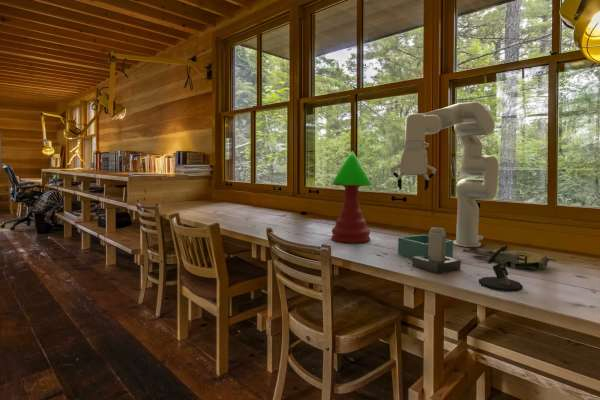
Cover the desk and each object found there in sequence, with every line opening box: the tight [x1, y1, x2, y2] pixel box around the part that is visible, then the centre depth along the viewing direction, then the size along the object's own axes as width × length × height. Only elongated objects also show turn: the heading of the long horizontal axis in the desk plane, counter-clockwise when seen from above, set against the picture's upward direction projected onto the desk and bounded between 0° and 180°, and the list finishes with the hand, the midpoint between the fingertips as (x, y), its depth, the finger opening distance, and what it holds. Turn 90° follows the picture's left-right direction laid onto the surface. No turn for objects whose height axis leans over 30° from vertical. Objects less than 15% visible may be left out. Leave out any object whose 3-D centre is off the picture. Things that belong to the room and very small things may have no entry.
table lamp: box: [330, 150, 372, 244], centre depth 195 cm, size 20×20×45 cm
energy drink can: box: [428, 226, 447, 262], centre depth 144 cm, size 6×6×15 cm
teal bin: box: [397, 234, 454, 259], centre depth 164 cm, size 16×16×7 cm
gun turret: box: [462, 245, 527, 293], centre depth 126 cm, size 13×20×13 cm, turn 41°
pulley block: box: [468, 247, 557, 271], centre depth 153 cm, size 14×6×30 cm
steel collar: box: [412, 255, 462, 275], centre depth 145 cm, size 12×12×4 cm
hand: (412, 189), depth 153 cm, fingers open, 9 cm apart
